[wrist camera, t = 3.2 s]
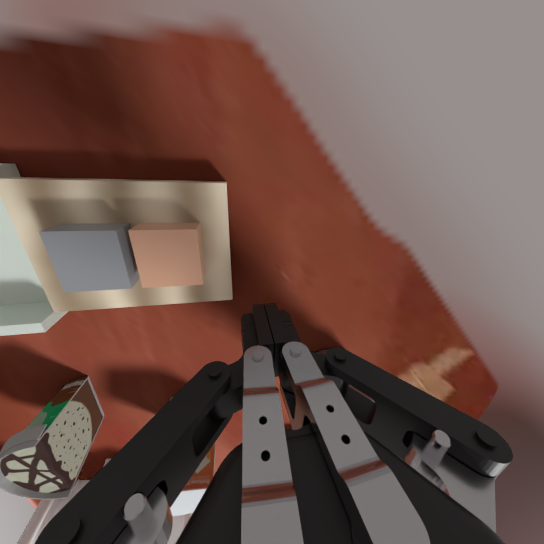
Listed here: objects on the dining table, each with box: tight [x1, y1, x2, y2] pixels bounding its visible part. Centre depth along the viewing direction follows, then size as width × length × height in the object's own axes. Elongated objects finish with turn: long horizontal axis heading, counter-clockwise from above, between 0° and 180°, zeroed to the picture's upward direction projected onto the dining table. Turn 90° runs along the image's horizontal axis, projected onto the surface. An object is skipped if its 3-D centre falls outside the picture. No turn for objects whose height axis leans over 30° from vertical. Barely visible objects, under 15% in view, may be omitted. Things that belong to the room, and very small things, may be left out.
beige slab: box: [0, 177, 233, 312], centre depth 25 cm, size 20×14×3 cm
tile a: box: [128, 222, 206, 288], centre depth 23 cm, size 6×6×3 cm
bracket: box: [17, 459, 192, 544], centre depth 40 cm, size 25×10×12 cm, turn 63°
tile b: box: [39, 223, 140, 292], centre depth 22 cm, size 6×6×3 cm
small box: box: [170, 397, 216, 516], centre depth 34 cm, size 8×6×13 cm
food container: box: [0, 376, 105, 499], centre depth 30 cm, size 12×6×10 cm, turn 177°
